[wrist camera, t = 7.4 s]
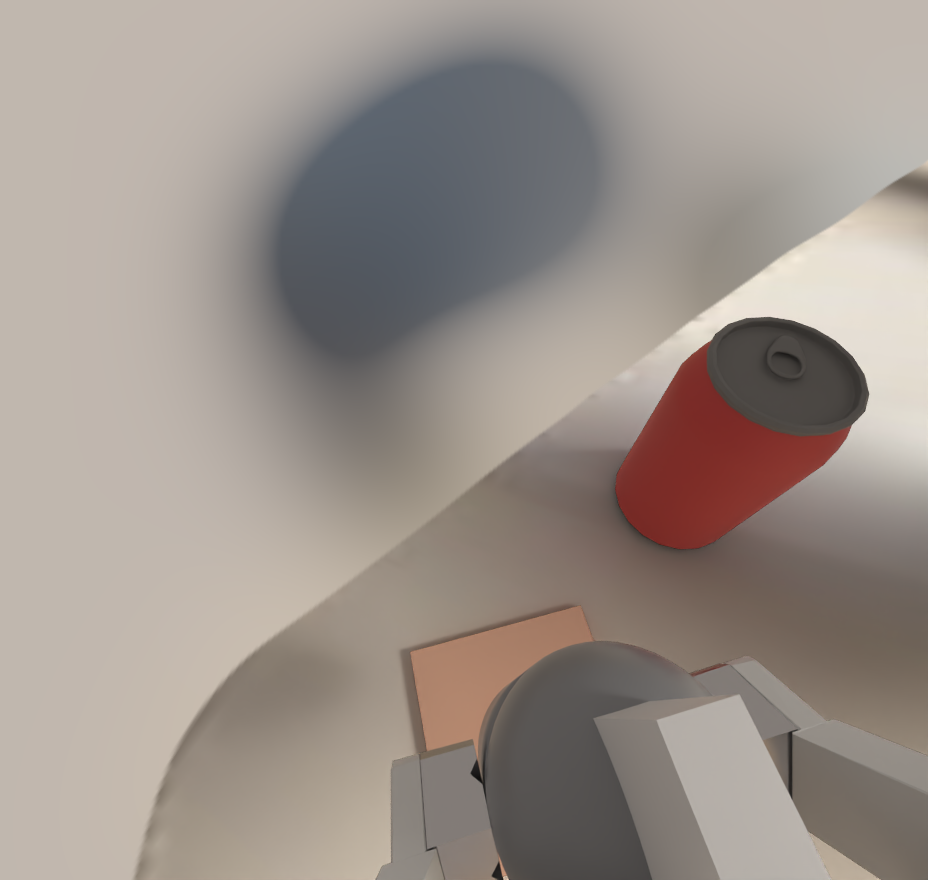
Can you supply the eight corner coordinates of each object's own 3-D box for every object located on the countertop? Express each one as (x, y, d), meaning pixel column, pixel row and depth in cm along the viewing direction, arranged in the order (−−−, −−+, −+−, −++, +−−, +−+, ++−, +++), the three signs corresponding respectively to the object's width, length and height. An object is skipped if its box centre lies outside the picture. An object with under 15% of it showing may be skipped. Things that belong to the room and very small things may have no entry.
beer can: (733, 473, 28) (885, 333, 17) (717, 572, 25) (890, 473, 14) (626, 437, 29) (709, 288, 19) (599, 525, 26) (679, 406, 16)
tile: (578, 607, 24) (580, 605, 23) (655, 820, 19) (660, 823, 19) (411, 653, 23) (410, 652, 22) (452, 889, 18) (451, 894, 18)
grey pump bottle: (587, 658, 14) (823, 543, 5) (644, 818, 12) (1268, 1190, 3) (463, 693, 14) (449, 646, 4) (500, 867, 12) (636, 1530, 2)
